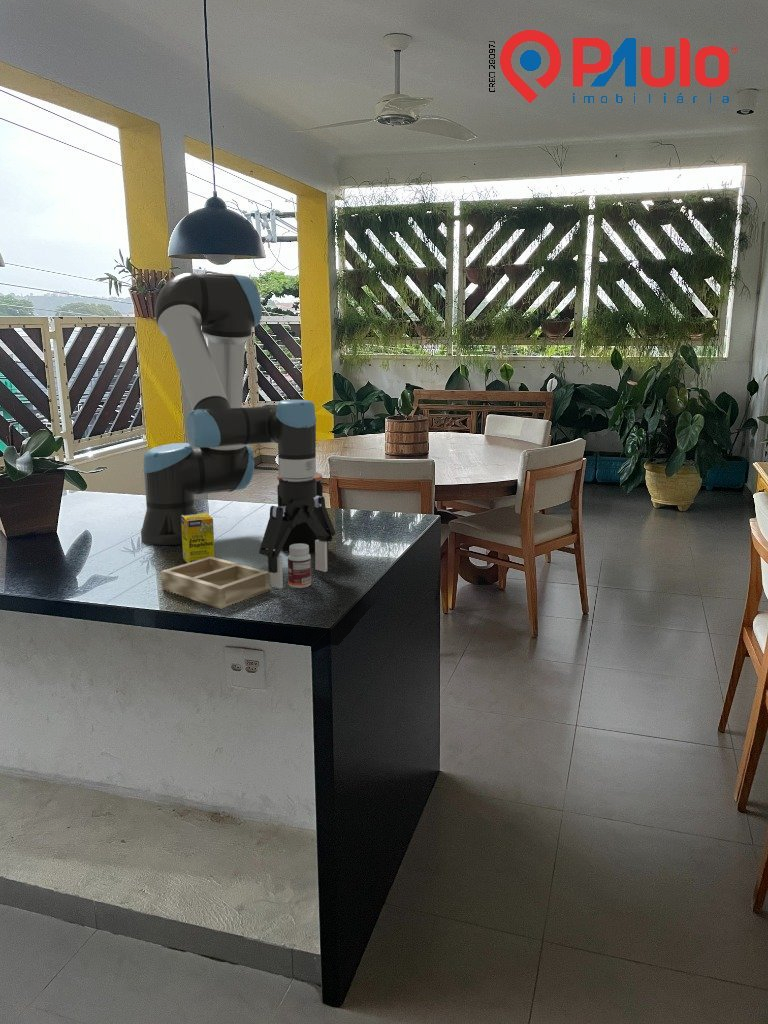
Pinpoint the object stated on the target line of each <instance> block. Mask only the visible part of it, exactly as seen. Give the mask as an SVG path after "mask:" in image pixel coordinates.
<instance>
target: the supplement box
mask: <svg viewBox="0 0 768 1024" xmlns="http://www.w3.org/2000/svg"><path fill="white" fill-rule="evenodd" d="M181 525H182V544H181V546H182V561H183V562H184V564H186V563H190V562H193V561H197V560H200V559H203V558H207V557H210V556H211V557H215V556H216V555H215V533H214V519H213V517H212V516H211V515H210V514H209V513H208V512H202V513H197V514H191V515H181ZM215 558H216V557H215Z"/></svg>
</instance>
